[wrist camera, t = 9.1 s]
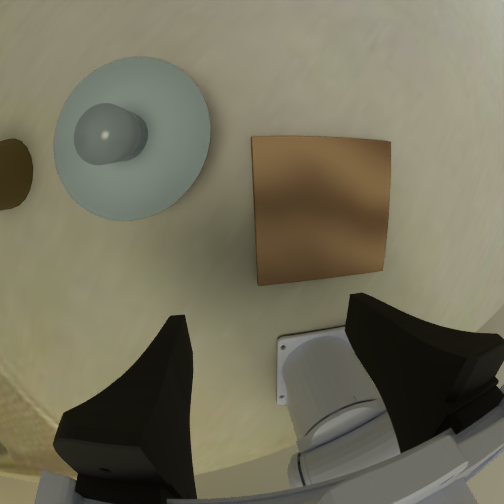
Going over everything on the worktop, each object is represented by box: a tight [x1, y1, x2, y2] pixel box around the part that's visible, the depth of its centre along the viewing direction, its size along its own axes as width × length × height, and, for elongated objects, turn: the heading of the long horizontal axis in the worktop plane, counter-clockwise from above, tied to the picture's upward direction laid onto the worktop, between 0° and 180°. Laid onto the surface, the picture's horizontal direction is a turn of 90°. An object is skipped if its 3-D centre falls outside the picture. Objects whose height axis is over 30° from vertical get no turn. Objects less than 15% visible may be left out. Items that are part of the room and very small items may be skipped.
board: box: [251, 136, 391, 286], centre depth 21 cm, size 11×11×1 cm
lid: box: [54, 57, 211, 221], centre depth 12 cm, size 10×10×4 cm
